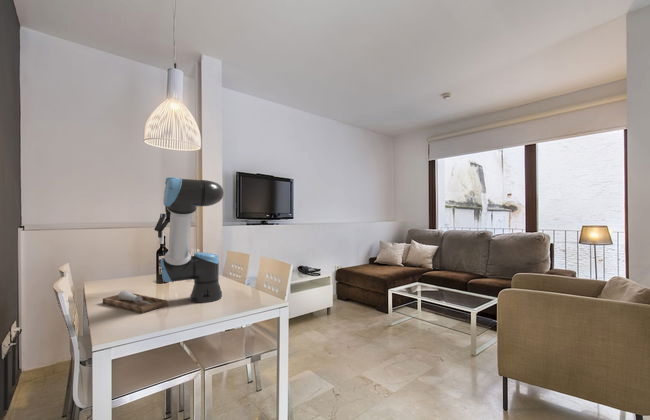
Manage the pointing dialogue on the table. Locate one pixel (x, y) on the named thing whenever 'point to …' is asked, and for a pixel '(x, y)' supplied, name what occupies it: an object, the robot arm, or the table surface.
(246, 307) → the table surface
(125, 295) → the screwdriver
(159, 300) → the tool tray
